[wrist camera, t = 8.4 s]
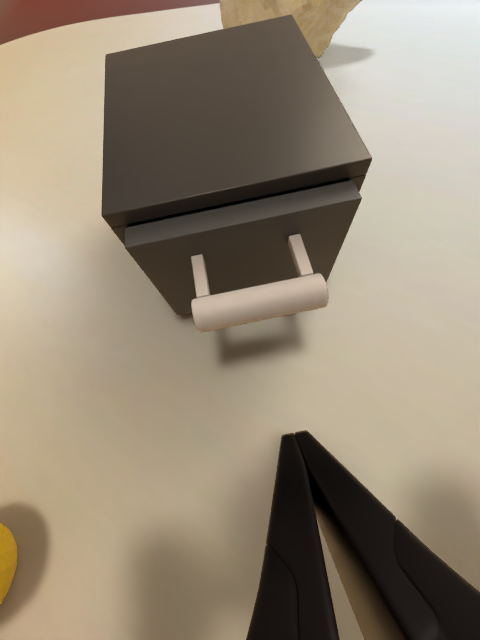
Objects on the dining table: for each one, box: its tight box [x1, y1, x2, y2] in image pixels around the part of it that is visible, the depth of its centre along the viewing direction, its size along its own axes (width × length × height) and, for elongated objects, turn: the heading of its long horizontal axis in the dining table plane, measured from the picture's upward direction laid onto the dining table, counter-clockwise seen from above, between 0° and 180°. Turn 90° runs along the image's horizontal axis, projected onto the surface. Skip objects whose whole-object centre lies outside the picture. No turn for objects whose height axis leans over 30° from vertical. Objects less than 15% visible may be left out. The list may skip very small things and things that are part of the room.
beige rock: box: [220, 0, 362, 58], centre depth 29 cm, size 15×7×15 cm
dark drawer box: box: [102, 15, 372, 246], centre depth 19 cm, size 14×12×10 cm
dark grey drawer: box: [125, 180, 362, 333], centre depth 17 cm, size 16×11×8 cm, turn 10°
